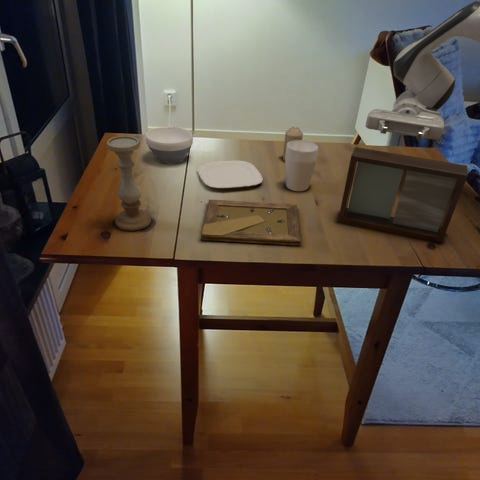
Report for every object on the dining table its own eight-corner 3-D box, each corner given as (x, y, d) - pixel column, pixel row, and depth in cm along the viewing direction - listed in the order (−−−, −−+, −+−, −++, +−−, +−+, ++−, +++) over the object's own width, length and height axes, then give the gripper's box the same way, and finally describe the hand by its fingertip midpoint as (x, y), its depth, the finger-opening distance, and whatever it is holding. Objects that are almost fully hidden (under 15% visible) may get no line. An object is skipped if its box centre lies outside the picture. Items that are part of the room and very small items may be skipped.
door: (350, 203, 125) (361, 152, 116) (391, 211, 122) (406, 159, 113) (347, 210, 122) (358, 158, 113) (389, 218, 119) (404, 166, 110)
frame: (341, 211, 125) (355, 146, 113) (442, 231, 119) (467, 165, 107) (337, 222, 121) (351, 155, 109) (441, 243, 115) (467, 175, 103)
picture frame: (202, 240, 111) (300, 246, 111) (201, 234, 110) (301, 239, 110) (208, 204, 125) (295, 209, 125) (208, 198, 124) (296, 203, 124)
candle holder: (109, 219, 117) (96, 138, 103) (141, 210, 121) (132, 132, 107) (124, 234, 112) (112, 152, 98) (157, 225, 116) (149, 144, 102)
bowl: (144, 151, 151) (142, 127, 146) (188, 148, 154) (187, 125, 149) (151, 169, 140) (148, 144, 135) (197, 166, 144) (197, 141, 139)
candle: (285, 163, 148) (289, 131, 141) (280, 156, 152) (283, 125, 145) (301, 162, 149) (306, 130, 143) (296, 155, 153) (300, 124, 147)
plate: (249, 164, 146) (250, 158, 145) (267, 188, 134) (268, 183, 132) (193, 168, 142) (193, 162, 141) (206, 194, 129) (206, 188, 128)
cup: (313, 182, 138) (320, 142, 130) (311, 195, 132) (317, 153, 124) (284, 178, 139) (288, 138, 132) (279, 191, 133) (284, 149, 125)
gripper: (371, 100, 130) (364, 114, 121) (446, 111, 126) (446, 127, 116) (366, 123, 135) (359, 139, 125) (439, 134, 130) (437, 152, 120)
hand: (401, 133), depth 120 cm, fingers open, 8 cm apart
